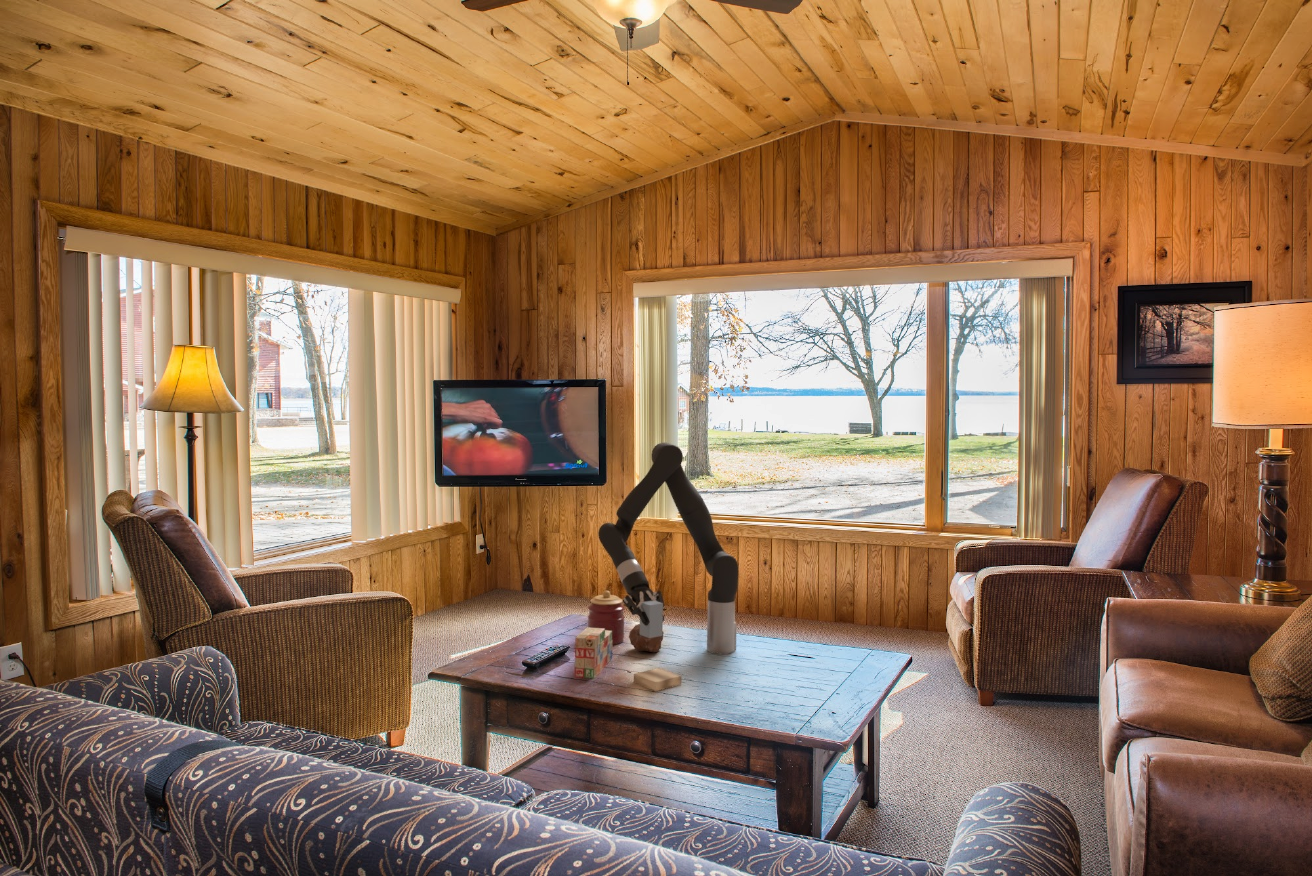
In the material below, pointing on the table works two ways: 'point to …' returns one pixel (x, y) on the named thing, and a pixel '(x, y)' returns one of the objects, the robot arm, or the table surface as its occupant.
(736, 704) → the table surface
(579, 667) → the stack of blocks
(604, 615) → the canister
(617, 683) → the table surface
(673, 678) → the base slab
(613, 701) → the table surface
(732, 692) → the table surface
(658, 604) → the column
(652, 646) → the decorative rock
